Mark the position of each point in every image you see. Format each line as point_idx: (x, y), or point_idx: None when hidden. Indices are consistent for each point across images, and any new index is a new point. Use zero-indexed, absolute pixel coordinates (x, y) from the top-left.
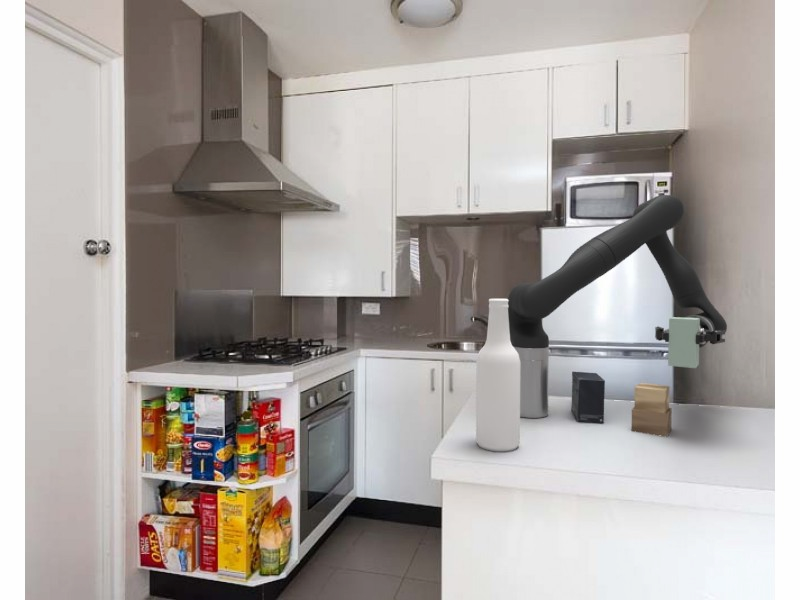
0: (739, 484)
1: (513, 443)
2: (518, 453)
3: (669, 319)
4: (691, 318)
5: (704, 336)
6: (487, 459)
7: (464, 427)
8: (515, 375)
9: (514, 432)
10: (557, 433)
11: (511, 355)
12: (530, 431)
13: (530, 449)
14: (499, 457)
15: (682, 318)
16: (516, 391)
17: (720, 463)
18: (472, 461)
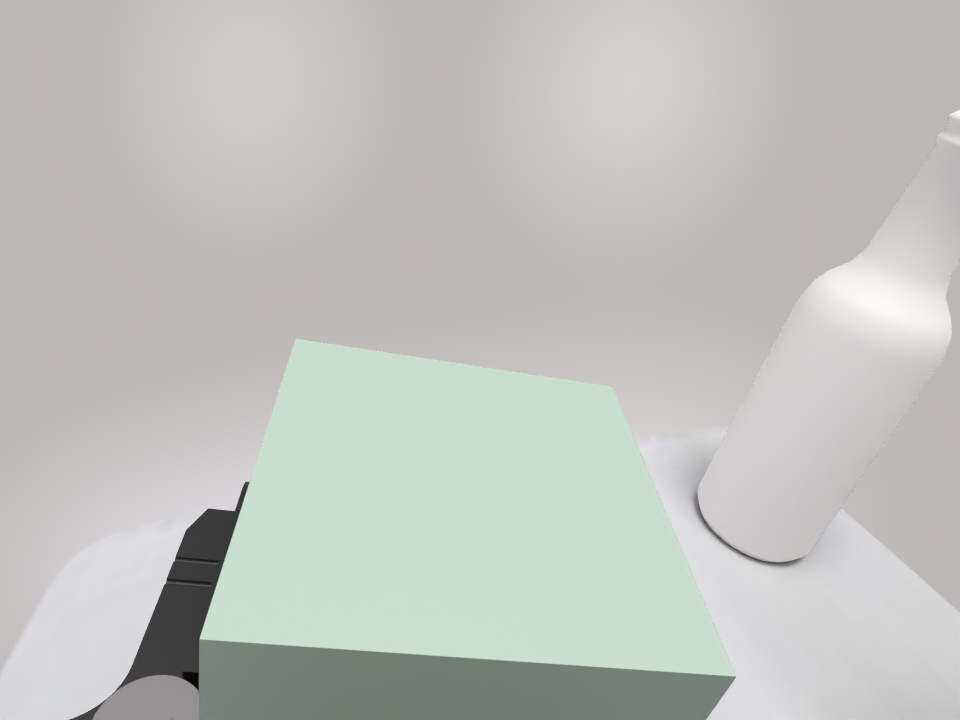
0: (155, 535)
1: (700, 486)
2: (675, 496)
3: (603, 395)
4: (369, 487)
5: (181, 550)
6: (685, 446)
7: (934, 607)
8: (783, 338)
9: (712, 468)
10: (752, 715)
11: (818, 282)
12: (816, 681)
13: (679, 530)
14: (680, 462)
15: (488, 439)
16: (763, 382)
17: None
18: (692, 430)
